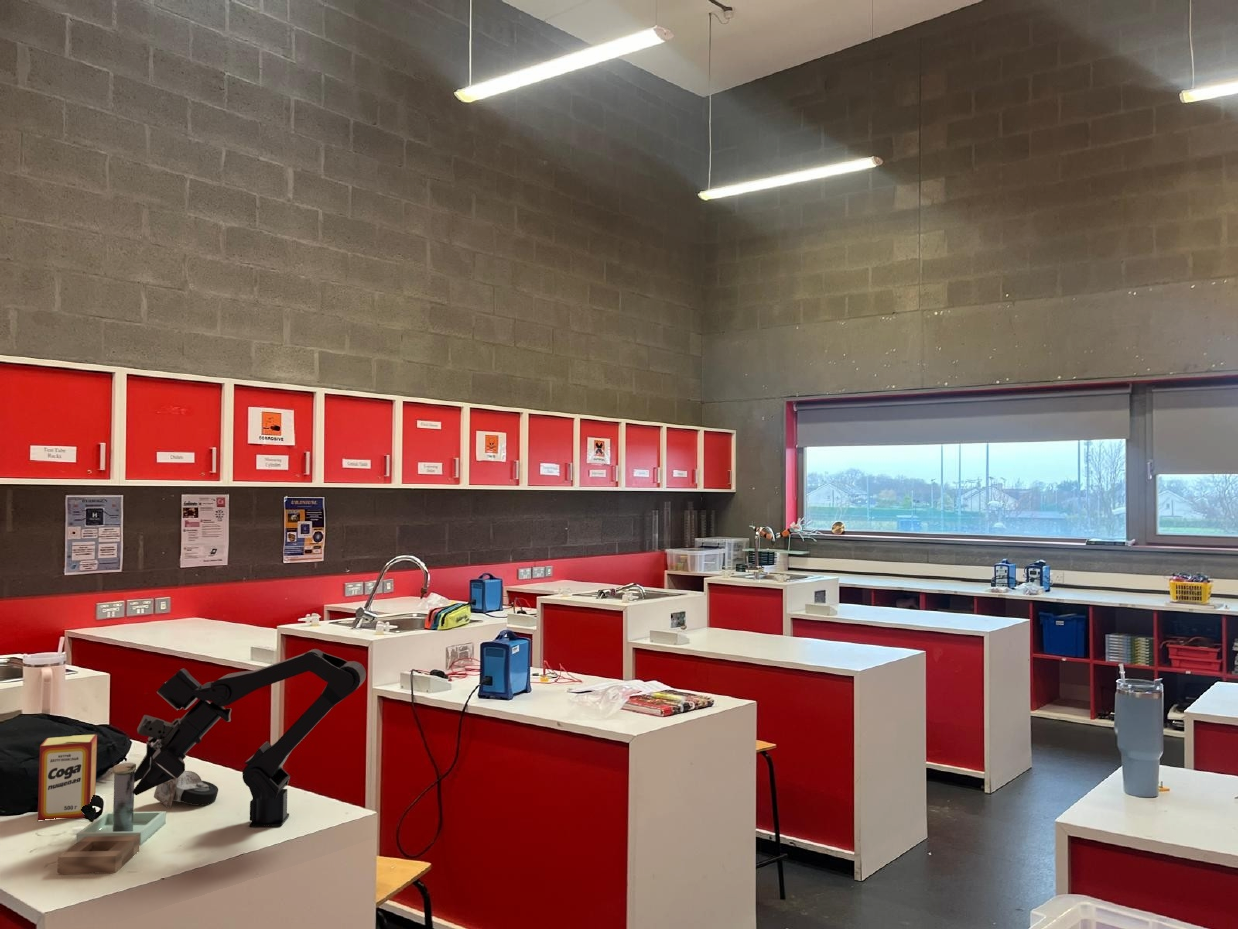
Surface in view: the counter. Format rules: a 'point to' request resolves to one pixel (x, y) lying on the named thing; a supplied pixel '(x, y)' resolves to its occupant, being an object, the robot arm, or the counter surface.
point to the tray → (142, 826)
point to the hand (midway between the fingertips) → (133, 787)
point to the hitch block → (98, 854)
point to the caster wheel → (186, 790)
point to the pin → (123, 797)
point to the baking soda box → (66, 776)
